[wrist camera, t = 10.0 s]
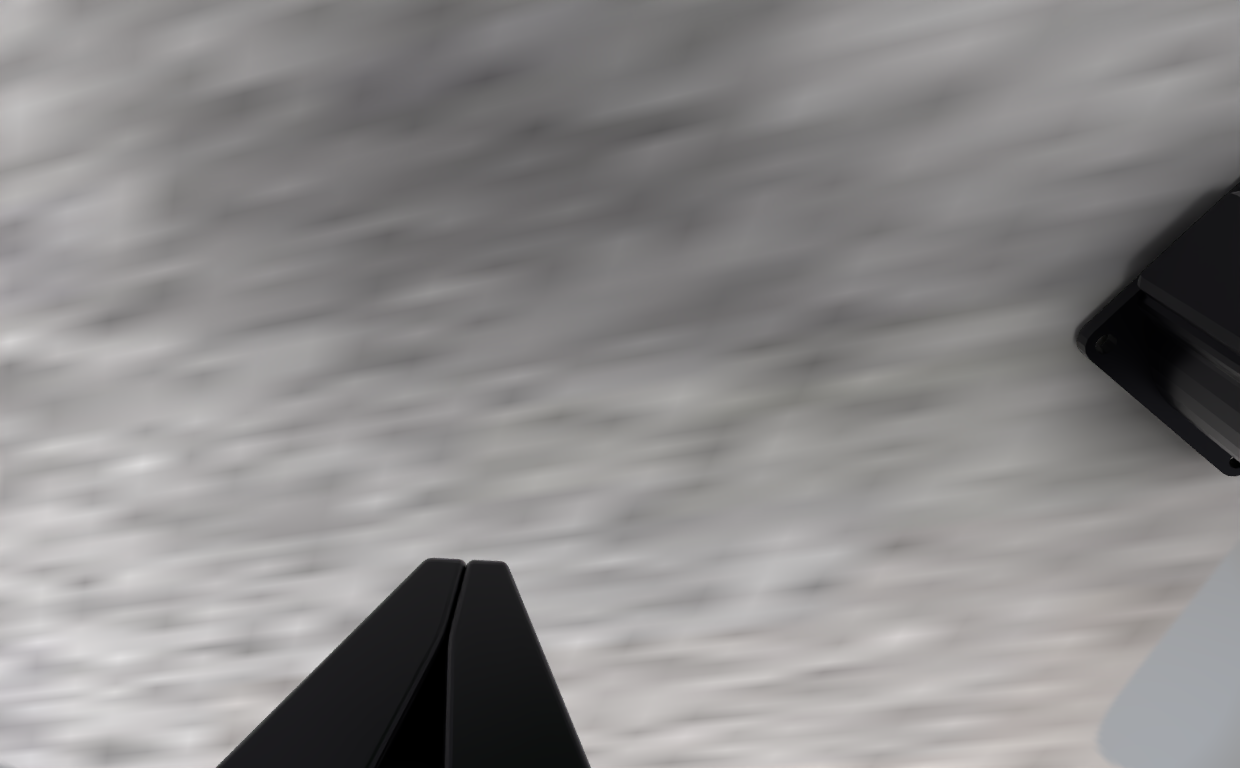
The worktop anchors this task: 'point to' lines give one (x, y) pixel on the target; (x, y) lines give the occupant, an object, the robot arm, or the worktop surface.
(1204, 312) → the robot arm
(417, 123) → the worktop surface
